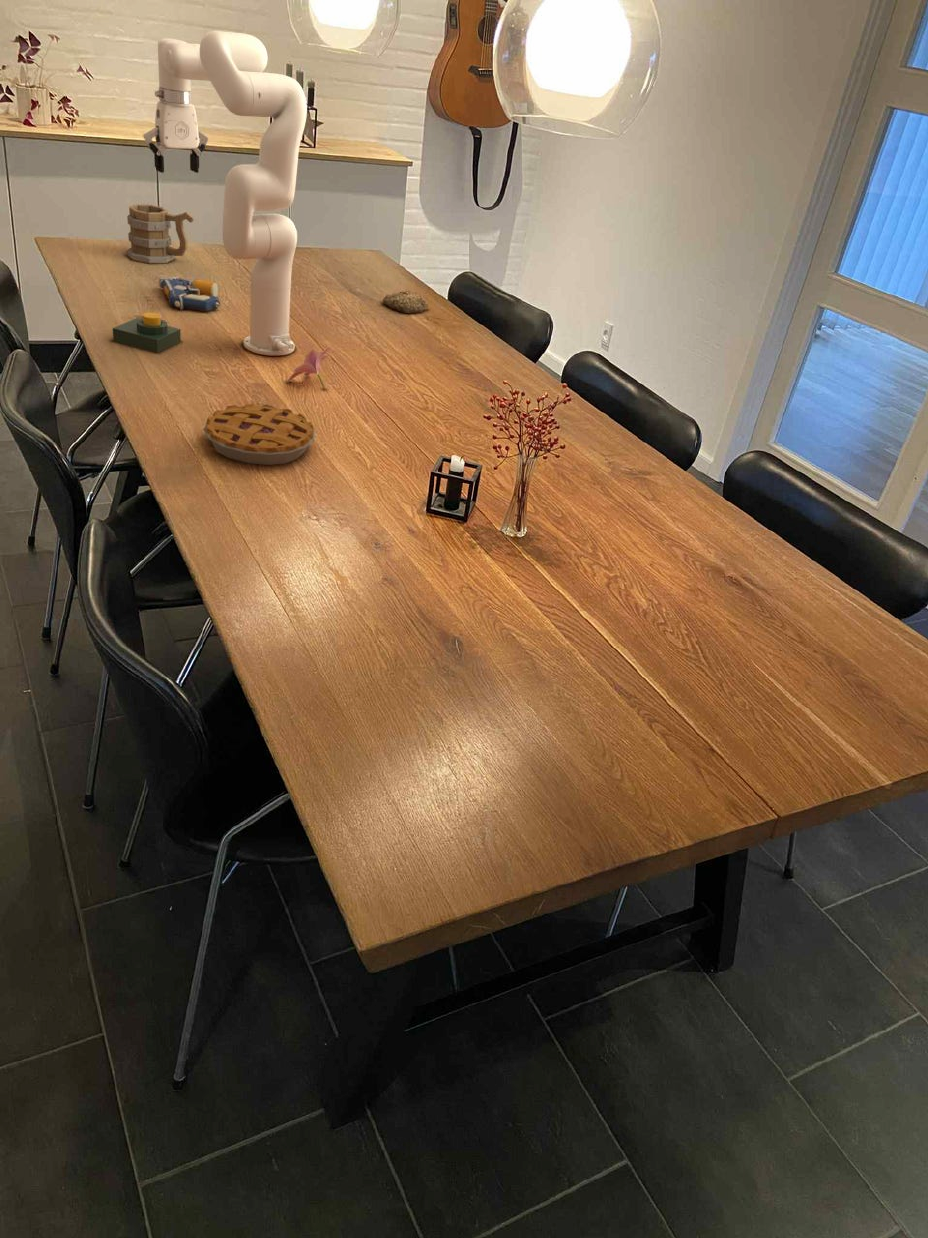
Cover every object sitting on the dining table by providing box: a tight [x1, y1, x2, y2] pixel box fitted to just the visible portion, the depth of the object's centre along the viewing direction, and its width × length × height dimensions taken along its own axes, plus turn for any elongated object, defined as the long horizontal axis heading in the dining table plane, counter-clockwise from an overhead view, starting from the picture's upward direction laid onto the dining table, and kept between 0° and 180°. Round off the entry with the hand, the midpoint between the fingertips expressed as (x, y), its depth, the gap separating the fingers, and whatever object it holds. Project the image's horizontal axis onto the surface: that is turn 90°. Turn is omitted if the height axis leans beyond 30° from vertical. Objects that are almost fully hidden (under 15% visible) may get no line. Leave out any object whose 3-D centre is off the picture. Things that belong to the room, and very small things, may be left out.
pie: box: [203, 403, 316, 466], centre depth 186 cm, size 22×22×5 cm
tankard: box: [126, 204, 195, 265], centre depth 276 cm, size 20×13×15 cm, turn 80°
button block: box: [112, 317, 182, 354], centre depth 223 cm, size 12×10×5 cm
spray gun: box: [158, 275, 221, 312], centre depth 253 cm, size 21×4×15 cm
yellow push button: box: [142, 312, 162, 326], centre depth 221 cm, size 4×4×2 cm
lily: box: [286, 346, 332, 390], centre depth 215 cm, size 12×12×10 cm
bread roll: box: [382, 290, 429, 315], centre depth 276 cm, size 13×12×5 cm
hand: (177, 171), depth 240 cm, fingers open, 9 cm apart
